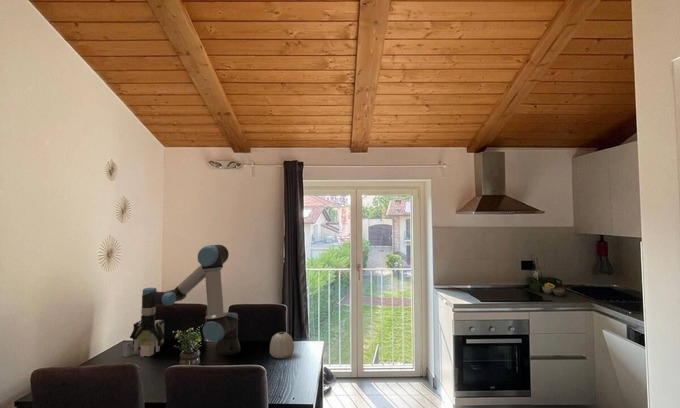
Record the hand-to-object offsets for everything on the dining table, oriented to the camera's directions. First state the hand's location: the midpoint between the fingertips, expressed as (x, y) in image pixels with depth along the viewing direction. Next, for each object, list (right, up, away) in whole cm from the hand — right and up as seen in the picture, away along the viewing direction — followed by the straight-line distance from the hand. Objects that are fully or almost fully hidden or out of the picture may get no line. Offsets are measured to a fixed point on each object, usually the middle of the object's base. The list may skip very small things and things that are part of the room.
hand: (146, 351), depth 228 cm
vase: (+80, -2, -4) cm, 80 cm away
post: (-11, -2, -2) cm, 11 cm away
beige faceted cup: (0, -2, 0) cm, 2 cm away
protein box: (-7, -4, +17) cm, 19 cm away
